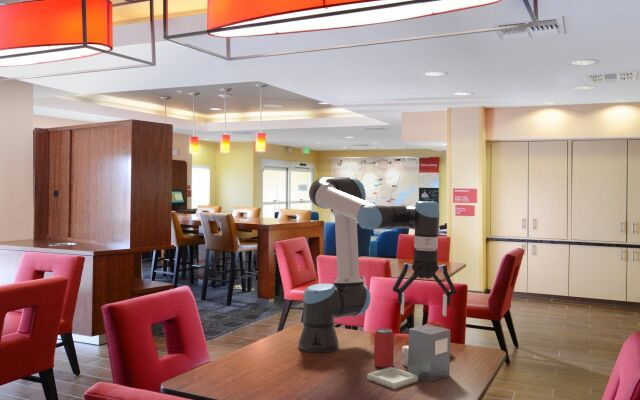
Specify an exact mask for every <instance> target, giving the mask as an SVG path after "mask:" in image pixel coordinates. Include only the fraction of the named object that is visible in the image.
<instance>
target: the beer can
mask: <svg viewBox="0 0 640 400" xmlns="http://www.w3.org/2000/svg"><path fill="white" fill-rule="evenodd" d="M373 341H374V345H373V346H374V349H373V350H374V353H373V364H374V366H376V367H379V368H381V369H385V368H389V367H393V365H394V358H395V356H394V350H395V346H394V345H395V337H394V333H393V330H392V329H390V328H376V330H375V333H374V340H373Z"/></svg>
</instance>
